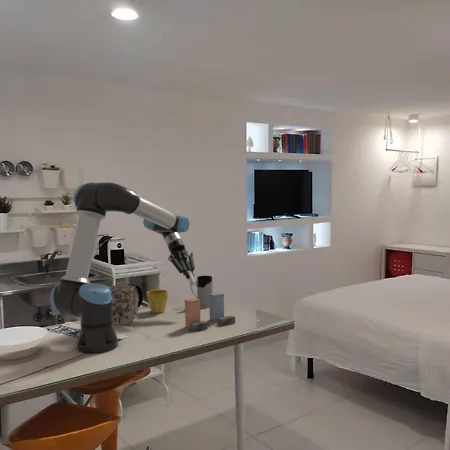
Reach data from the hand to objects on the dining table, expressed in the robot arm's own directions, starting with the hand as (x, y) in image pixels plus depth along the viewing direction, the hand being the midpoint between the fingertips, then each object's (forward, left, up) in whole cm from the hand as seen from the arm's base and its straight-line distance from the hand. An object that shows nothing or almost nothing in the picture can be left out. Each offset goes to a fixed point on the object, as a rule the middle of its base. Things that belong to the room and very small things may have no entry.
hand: (193, 283), depth 218 cm
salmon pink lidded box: (-2, -19, -15) cm, 24 cm away
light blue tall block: (+9, -10, -15) cm, 20 cm away
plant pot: (-16, +16, -16) cm, 28 cm away
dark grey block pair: (+4, -15, -16) cm, 23 cm away
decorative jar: (-32, +1, -16) cm, 36 cm away
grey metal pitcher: (+6, +23, -16) cm, 28 cm away
